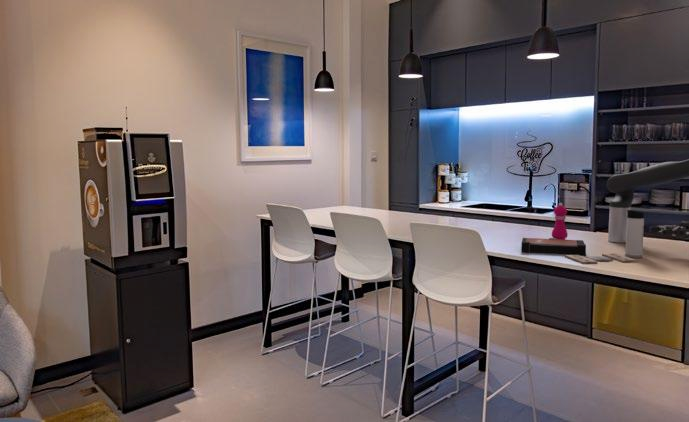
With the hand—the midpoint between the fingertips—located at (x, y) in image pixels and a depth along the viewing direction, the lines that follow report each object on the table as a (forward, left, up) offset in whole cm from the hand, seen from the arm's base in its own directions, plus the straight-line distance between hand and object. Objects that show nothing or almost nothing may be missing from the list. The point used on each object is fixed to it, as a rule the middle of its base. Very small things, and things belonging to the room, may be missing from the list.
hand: (656, 230), depth 219 cm
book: (+36, -19, -12) cm, 42 cm away
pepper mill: (+23, -36, -11) cm, 44 cm away
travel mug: (+9, -1, -11) cm, 14 cm away
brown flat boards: (+26, +2, -11) cm, 28 cm away
